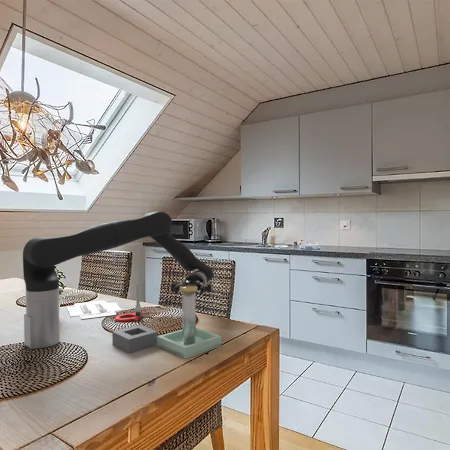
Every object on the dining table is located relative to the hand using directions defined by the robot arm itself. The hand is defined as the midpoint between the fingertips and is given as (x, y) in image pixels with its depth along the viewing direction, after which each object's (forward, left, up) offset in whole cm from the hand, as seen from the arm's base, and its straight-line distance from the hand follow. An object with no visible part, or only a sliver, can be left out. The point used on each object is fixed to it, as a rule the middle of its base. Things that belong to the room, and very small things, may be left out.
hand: (188, 290), depth 122 cm
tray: (-7, -9, -15) cm, 19 cm away
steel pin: (-7, -9, -14) cm, 18 cm away
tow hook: (-5, +31, -15) cm, 35 cm away
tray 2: (-9, +54, -16) cm, 57 cm away
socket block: (-18, +4, -15) cm, 24 cm away
